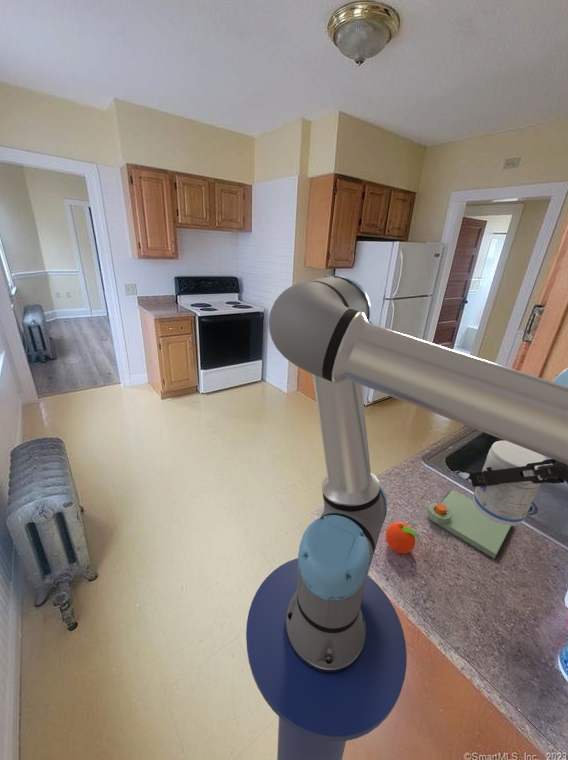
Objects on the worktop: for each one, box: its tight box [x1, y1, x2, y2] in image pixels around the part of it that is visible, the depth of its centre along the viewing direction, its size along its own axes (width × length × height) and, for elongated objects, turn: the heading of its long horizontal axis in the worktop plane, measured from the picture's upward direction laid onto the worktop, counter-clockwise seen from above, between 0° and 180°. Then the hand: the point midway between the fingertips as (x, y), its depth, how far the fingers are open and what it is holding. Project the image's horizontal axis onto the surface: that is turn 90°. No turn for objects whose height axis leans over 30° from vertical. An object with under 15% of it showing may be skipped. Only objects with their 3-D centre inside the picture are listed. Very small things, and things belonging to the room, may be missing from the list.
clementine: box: [385, 521, 421, 554], centre depth 79 cm, size 8×7×7 cm
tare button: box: [435, 502, 447, 515], centre depth 87 cm, size 3×3×2 cm
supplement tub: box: [472, 440, 547, 527], centre depth 65 cm, size 10×10×15 cm
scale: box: [427, 489, 512, 559], centre depth 87 cm, size 17×16×4 cm
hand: (494, 478), depth 69 cm, fingers closed on supplement tub, 9 cm apart
